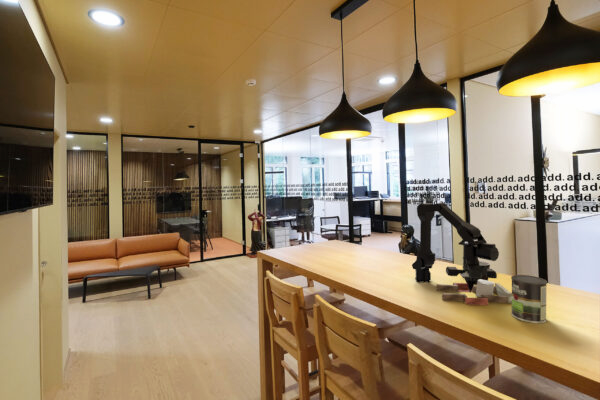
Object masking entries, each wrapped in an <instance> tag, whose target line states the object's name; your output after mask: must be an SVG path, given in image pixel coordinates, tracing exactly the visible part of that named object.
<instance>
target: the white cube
mask: <svg viewBox="0 0 600 400" xmlns="http://www.w3.org/2000/svg"><path fill="white" fill-rule="evenodd" d="M476 286H477V289H476V292H475V297H477V298H481V295H494V293H493V289H494V286H495V282H494V281H492V280H488V281H487V280H482V279H478V281H477V285H476Z"/></svg>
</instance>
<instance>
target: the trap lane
mask: <svg viewBox="0 0 600 400" xmlns="http://www.w3.org/2000/svg"><path fill="white" fill-rule="evenodd" d="M435 288H436V292H437V291H438V292H439V291H440V292H442V293H441V299H442V301H453V302H454V301H455V302H463V303H464V304H465V305H471V306H472V305H473V306H475V305H476V306H489V303H493V304H494V303H495V304H498V303H499V304H512V291H509V290H508V289H507V288H506V287H504V286H503V285H501V284H500V283H498V282H494V289H493V295H481V297H468V295H466V292H467V293H476V289H477V285H474V286H473V288H472V290H471V292H469V289H468V286H467V283H466V282H452V284H441V283H440V284H437V283H436V284H435ZM444 292H445V293H444ZM446 292H447V293H446ZM448 292H458V293H448ZM459 292H462V293H459ZM463 292H465V293H463ZM495 294H497V295H495Z"/></svg>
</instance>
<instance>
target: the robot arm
mask: <svg viewBox="0 0 600 400" xmlns="http://www.w3.org/2000/svg"><path fill="white" fill-rule="evenodd" d="M436 212H437V213H439V214H440V215H441V217H443V218H444V219H445V220H446V221H447V222H448V223H449V224H451V226H452V227H454V228H455V230H456V231H457V232H456V233H457V235H458V236H459V238H461V241H459V242H458V245H461V246H462V251H463V252H462V269H458V267H456V266H446V268H445V273H446V275H447V276H450V277H457V276H459V275H460V276H461V277H462V279H464V281H465V283H467V286H468V289H469V292H468V293H472V292H471V290H472V288H473V286H475V282H476V281H477V280H478V279H481V278H482V275H486V276H487V277H488V279H497V278H498V273H497V272H496V271H495V270H494V269H493V268H490V269H487V266H480V265H479V261H480V260H479V259H482V260H486V261H491V262H496V261H497V260H498V258H499V255H500V251H499V250H498V248H497V247H496V244H495V243H488V242H487V240H486V239H485V237H484V236H483V235H482V231H481V230H480V228H478V227H476V226H475V225H474V224H471V223H470V222H467V221H465V220H464V219H462V217H460V216H459V215H458V214H457V213H456V212H454V210H452V208H450V207H449V206H448V205H447V204H446V203H445V202H437V203H431V202H423V203H419V204H418V205H417V207H416V213H417V217H418V219H419V221H420V225H419V227H420V228H419V229H420V231H419V232H420V233H419V235H420V236H419V238H420V240H419V242H420V243H419V245H420V246H419V247H420V249H419V251H418V252H417V254H416V260H415V261H414V262H413V263H412V264H411V266H412V267H411V268H412V269H413V270H415V277H414V280H415V281H416V282H417V283H431V280H432V279H431V277H432V274H431V271H430V269H432V268H433V266H434V264H435V262H436V253H435V252H433V251H432V221H433V219H434V217H435V214H436Z"/></svg>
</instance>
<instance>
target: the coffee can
mask: <svg viewBox="0 0 600 400" xmlns="http://www.w3.org/2000/svg"><path fill="white" fill-rule="evenodd" d="M510 279H511V293H512V303H511V313H510V314H511V316H512V317H513V318H515V319H516V320H519V321H522V322H525V323H530V324H544V323H546V322H547V320H548V319H547V284H548V282H547V280H546V279H544V278H541V277H538V276H535V275H533V276H532V275H529V274H528V275H527V274H526V275H524V274H516V275H512V276H511V278H510Z"/></svg>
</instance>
